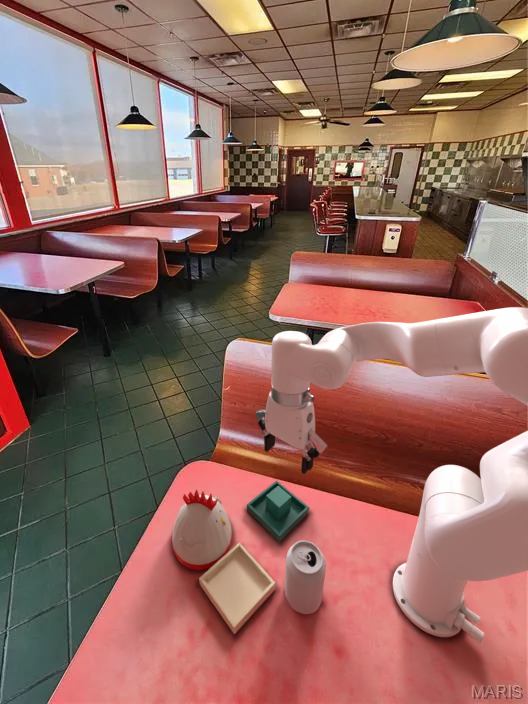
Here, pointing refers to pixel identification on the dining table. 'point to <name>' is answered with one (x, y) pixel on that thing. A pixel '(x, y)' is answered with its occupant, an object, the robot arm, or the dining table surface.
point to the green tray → (271, 522)
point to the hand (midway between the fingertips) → (287, 458)
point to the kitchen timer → (201, 531)
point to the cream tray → (237, 586)
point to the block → (278, 502)
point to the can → (304, 577)
